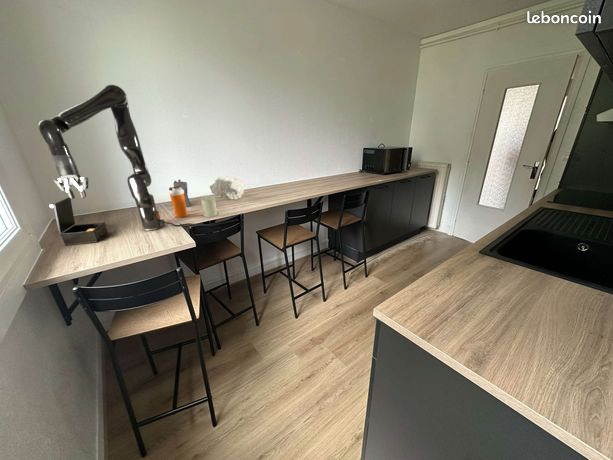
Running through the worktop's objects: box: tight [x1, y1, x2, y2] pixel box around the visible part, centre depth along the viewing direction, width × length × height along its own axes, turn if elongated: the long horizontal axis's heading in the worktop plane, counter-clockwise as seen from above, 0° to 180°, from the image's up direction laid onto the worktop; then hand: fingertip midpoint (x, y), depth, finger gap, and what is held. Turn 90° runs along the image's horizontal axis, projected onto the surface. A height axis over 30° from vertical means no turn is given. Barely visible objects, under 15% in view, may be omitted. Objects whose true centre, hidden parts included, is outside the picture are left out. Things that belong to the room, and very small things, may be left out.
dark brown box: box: [60, 222, 109, 247], centre depth 136 cm, size 15×13×7 cm
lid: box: [49, 196, 76, 234], centre depth 130 cm, size 15×13×5 cm
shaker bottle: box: [168, 186, 188, 219], centre depth 166 cm, size 9×9×20 cm
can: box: [200, 196, 218, 218], centre depth 170 cm, size 9×9×12 cm
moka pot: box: [172, 179, 191, 208], centre depth 187 cm, size 10×15×20 cm, turn 58°
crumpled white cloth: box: [209, 175, 245, 201], centre depth 204 cm, size 18×18×25 cm
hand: (78, 197), depth 129 cm, fingers open, 4 cm apart
